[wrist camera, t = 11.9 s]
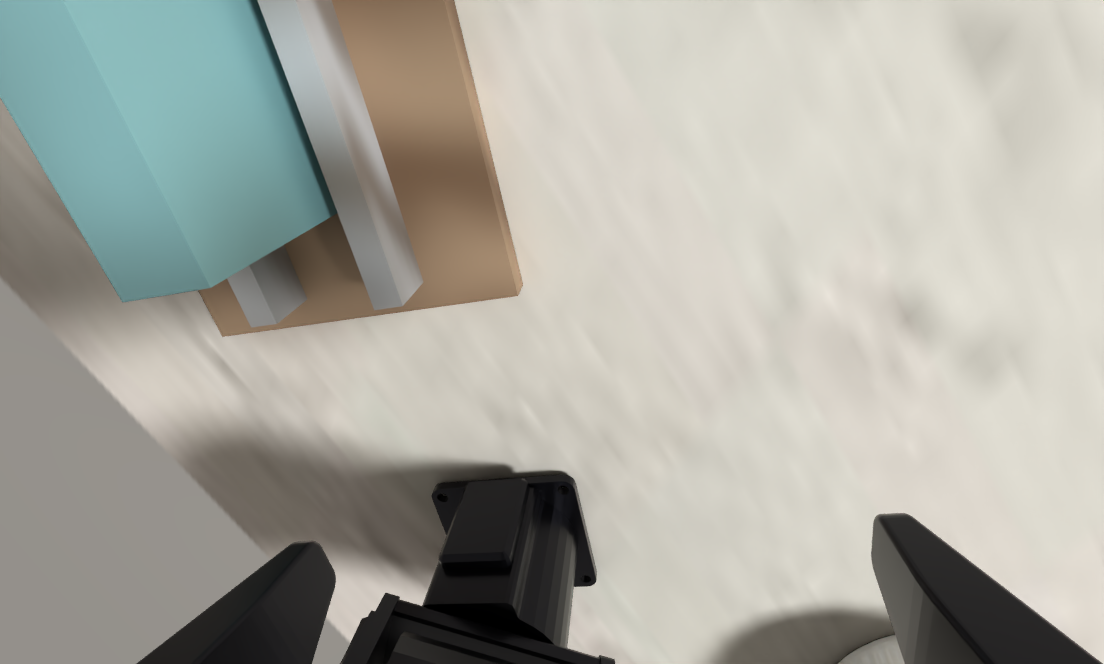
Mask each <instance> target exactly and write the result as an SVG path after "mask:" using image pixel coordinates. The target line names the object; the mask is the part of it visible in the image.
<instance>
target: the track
mask: <svg viewBox="0 0 1104 664" xmlns="http://www.w3.org/2000/svg"><path fill="white" fill-rule="evenodd" d="M257 1H258V3H259V6H260V9H261V11H262V14H263V17H264V19H265V22H266V25H267V27H268V30H269V33H270V35H271V38H272V40H273V43H274V46H275V48H276V51H277V54H278V56H279V59H280V62H281V64H282V67H283V70H284V72H285V75H286V78H287V80H288V83H289V86H290V88H291V91H292V93H293V96H294V99H295V101H296V104H297V107H298V109H299V112H300V115H301V117H302V120H303V123H304V125H305V128H306V131H307V133H308V136H309V138H310V141H311V144H312V146H313V149H314V152H315V154H316V157H317V160H318V162H319V165H320V168H321V170H322V173H323V176H324V178H325V181H326V183H327V186H328V189H329V191H330V194H331V197H332V199H333V202H334V205H335V207H336V210H337V214H335V215H333V216H332V217H330V218H328V219H327V220H325V221H323V222H321V223H320V224H318V225H316V226H315V227H313V228H311V229H310V230H308V231H306V232H305V233H303V234H301V235H299V236H298V237H296V238H294V239H293V240H291V241H289V242H288V243H286V244H284V245H283V246H281V247H279V248H277V249H276V250H274V251H272V252H271V253H269V254H267V255H266V256H264V257H262V258H260V259H259V260H257V261H255V262H254V263H252V264H250V265H249V266H247V267H245V268H244V269H242V270H240V271H238V272H237V273H235V274H233V275H232V276H230V277H228V278H227V279H225V280H223V281H222V282H220V283H218V284H216V285H215V286H213V287H211V288H207V289H201V290H198V291H199V293H200V295H201V297H202V298H203V300H204V302H205V304H206V306H207V308H208V310H209V312H210V314H211V316H212V318H213V319H214V321H215V323H216V325H217V327H218V329H219V331H220V333H221V335H222V337H224V336H231V335H239V334H246V333H253V332H260V331H268V330H275V329H282V328H289V327H296V326H304V325H311V324H318V323H325V322H333V321H340V320H347V319H354V318H361V317H369V316H376V315H383V314H390V313H398V312H405V311H412V310H419V309H426V308H434V307H441V306H448V305H455V304H463V303H470V302H477V301H484V300H491V299H499V298H506V297H513V296H518V295H519V292H520V290H521V288H522V286H523V283H522V278H521V274H520V270H519V266H518V262H517V258H516V254H515V250H514V245H513V241H512V237H511V233H510V229H509V225H508V221H507V217H506V213H505V208H504V204H503V200H502V196H501V192H500V188H499V184H498V180H497V175H496V171H495V167H494V163H493V159H492V155H491V151H490V147H489V142H488V138H487V134H486V130H485V126H484V122H483V118H482V114H481V110H480V105H479V101H478V97H477V93H476V89H475V85H474V81H473V77H472V72H471V68H470V64H469V60H468V56H467V52H466V48H465V44H464V39H463V35H462V31H461V27H460V23H459V19H458V15H457V11H456V6H455V2H454V0H257Z"/></svg>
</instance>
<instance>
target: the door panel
mask: <svg viewBox="0 0 1104 664" xmlns="http://www.w3.org/2000/svg"><path fill="white" fill-rule="evenodd" d="M0 98H1V99H2V101H3V103H4V104H5V106H6V108H7V110H8V111H9V113H10V115H11V116H12V118H13V120H14V121H15V123H16V125H17V126H18V128H19V130H20V131H21V133H22V135H23V136H24V138H25V140H26V141H27V143H28V145H29V146H30V148H31V150H32V151H33V153H34V155H35V156H36V158H37V160H38V161H39V163H40V165H41V167H42V168H43V170H44V172H45V173H46V175H47V177H48V178H49V180H50V182H51V183H52V185H53V187H54V188H55V190H56V192H57V193H58V195H59V197H60V198H61V200H62V202H63V203H64V205H65V207H66V208H67V210H68V212H69V213H70V215H71V217H72V218H73V220H74V222H75V223H76V225H77V227H78V229H79V230H80V232H81V234H82V235H83V237H84V239H85V240H86V242H87V244H88V245H89V247H90V249H91V250H92V252H93V254H94V255H95V257H96V259H97V260H98V262H99V264H100V265H101V267H102V269H103V270H104V272H105V274H106V275H107V277H108V279H109V280H110V282H111V284H112V286H113V287H114V289H115V291H116V292H117V294H118V296H119V297H120V299H121V301H122V302H128V301H134V300H140V299H147V298H153V297H159V296H165V295H171V294H177V293H183V292H189V291H195V290H201V289H207V288H211V287H213V286H215V285H216V284H218V283H220V282H222V281H223V280H225V279H227V278H228V277H230V276H232V275H233V274H235V273H237V272H238V271H240V270H242V269H244V268H245V267H247V266H249V265H250V264H252V263H254V262H255V261H257V260H259V259H260V258H262V257H264V256H266V255H267V254H269V253H271V252H272V251H274V250H276V249H277V248H279V247H281V246H283V245H284V244H286V243H288V242H289V241H291V240H293V239H294V238H296V237H298V236H299V235H301V234H303V233H305V232H306V231H308V230H310V229H311V228H313V227H315V226H316V225H318V224H320V223H321V222H323V221H325V220H327V219H328V218H330V217H332V216H333V215H335V214H337V210H336V207H335V205H334V202H333V199H332V197H331V194H330V191H329V189H328V186H327V183H326V181H325V178H324V176H323V173H322V170H321V168H320V165H319V162H318V160H317V157H316V154H315V152H314V149H313V146H312V144H311V141H310V138H309V136H308V133H307V131H306V128H305V125H304V123H303V120H302V117H301V115H300V112H299V109H298V107H297V104H296V101H295V99H294V96H293V93H292V91H291V88H290V86H289V83H288V80H287V78H286V75H285V72H284V70H283V67H282V64H281V62H280V59H279V56H278V54H277V51H276V48H275V46H274V43H273V40H272V38H271V35H270V33H269V30H268V27H267V25H266V22H265V19H264V17H263V14H262V11H261V9H260V6H259V3H258V1H257V0H0Z"/></svg>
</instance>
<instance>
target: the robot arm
mask: <svg viewBox="0 0 1104 664" xmlns="http://www.w3.org/2000/svg"><path fill="white" fill-rule="evenodd" d="M560 486H566V487H568V488H562V487H560ZM441 493H442V494H441ZM443 494H445V495H447V496H445V495H443ZM432 499H433V502H434V504H435V507H436V509H437V512H438V514H439V517H440V520H441V522H442V525H443V527H444V530H445V532H446V535H447V536H446V539H445V542H444V544H443V547H442V550H441V552H440V555H439V562H438V565H437V567H436V570H435V573H434V576H433V578H432V581H431V584H430V586H429V589H428V592H427V594H426V597H425V600H424V602H423V605H422V606H420V605H417V604H413V603H410V602H406V601H403V600H399V599H400V597H399V596H395V595H392V594H389V593H385V595H384V596H383V598H382V600H381V602H380V604H379V606H378V608H377V609H376V611H371V612H370V614H369V616H368V617H366V618H362V620H361V622H360V624H359V626H358V628H357V630H356V633H355V635H354V637H353V639H352V641H351V643H350V645H349V647H348V650H347V651H346V654H345V655H344V657H343V659H342V661H341V663H340V664H615V660H614V659H612V658H608V657H605V656H601V655H600V656H599V657H595V656H592V655H588V654H585V653H581V652H578V651H574V650H571V649H568V648H567V644H568V635H569V625H570V616H571V607H572V598H573V589H574V587H580V586H592V585H593V584H595V582H596V576H597V570H596V566H595V562H594V558H593V554H592V549H591V545H590V541H589V537H588V533H587V528H586V524H585V520H584V516H583V512H582V507H581V503H580V499H579V495H578V491H577V486H576V483H575V481H574V479H573V478H572V477H570V476H568V475H551V476H536V477H522V478H507V479H493V480H478V481H464V482H449V483H440V484H438V485H436V487H435V489H434V491H433V493H432ZM871 558H872V565H873V569H874V572H875V576H876V579H877V582H878V585H879V588H880V591H881V594H882V597H883V600H884V603H885V606H886V609H887V612H888V615H889V618H890V621H891V624H892V627H893V630H894V633H895V636H896V639H897V642H898V645H899V648H900V651H901V654H902V657H903V660H904V663H905V664H1102V663H1101V662H1100V661H1099V660H1097V659H1096V658H1095V657H1093V656H1092V655H1091V654H1090V653H1088V652H1087V651H1086V650H1084V649H1083V648H1082V647H1080V646H1079V645H1078V644H1077V643H1075V642H1074V641H1073V640H1071V639H1070V638H1069V637H1067V636H1066V635H1065V634H1064V633H1062V632H1061V631H1060V630H1058V629H1057V628H1056V627H1055V626H1053V625H1052V624H1051V623H1049V622H1048V621H1047V620H1045V619H1044V618H1043V617H1042V616H1040V615H1039V614H1038V613H1036V612H1035V611H1034V610H1033V609H1031V608H1030V607H1029V606H1027V605H1026V604H1025V603H1023V602H1022V601H1021V600H1020V599H1018V598H1017V597H1016V596H1014V595H1013V594H1012V593H1010V592H1009V591H1008V590H1007V589H1005V588H1004V587H1003V586H1001V585H1000V584H999V583H998V582H996V581H995V580H994V579H992V578H991V577H990V576H988V575H987V574H986V573H985V572H983V571H982V570H981V569H979V568H978V567H977V566H975V565H974V564H973V563H972V562H970V561H969V560H968V559H966V558H965V557H964V556H963V555H961V554H960V553H959V552H957V551H956V550H955V549H953V548H952V547H951V546H950V545H948V544H947V543H946V542H944V541H943V540H942V539H941V538H939V537H938V536H937V535H935V534H934V533H933V532H931V531H930V530H929V529H928V528H926V527H925V526H924V525H922V524H921V523H920V522H918V521H917V520H916V519H915V518H913V517H912V516H910V515H908V514H905V513H894V514H879V515H877V516H876V517H875V519H874V523H873V537H872V551H871ZM335 582H336V576H335V572H334V570H333V568H332V566H331V564H330V562H329V560H328V558H327V556H326V555H325V553H324V551H323V549H322V547H321V546H320V544H319V543H317V542H316V541H302V542H295V543H292V544H290V545H289V546H288V547H286V548H285V549H284V550H283V551H281V552H280V553H279V554H277V555H276V556H275V557H274V558H272V559H271V560H270V561H268V562H267V563H266V564H264V566H262V567H261V568H259V569H258V570H257V571H255V572H254V573H253V574H252V575H250V576H249V577H248V578H246V579H245V580H244V581H243V582H241V583H240V584H239V585H238V586H236V587H235V588H234V589H232V590H231V591H230V592H228V593H227V594H226V595H224V596H223V597H222V598H221V599H219V600H218V601H217V602H215V603H214V604H213V605H212V606H210V607H209V608H208V609H206V610H205V611H204V612H203V613H201V614H200V615H199V616H197V617H196V618H195V619H194V620H192V621H191V622H190V623H188V624H187V625H186V626H185V627H183V628H182V629H181V630H179V631H178V632H177V633H176V634H174V635H173V636H172V637H170V638H169V639H168V640H166V641H165V642H164V643H163V644H161V645H160V646H159V647H158V648H156V649H155V650H153V651H152V652H151V653H150V654H148V655H147V656H146V657H145V658H143V659H142V660H141V661H139V662H138V663H137V664H312V661H313V657H314V654H315V651H316V648H317V644H318V641H319V638H320V634H321V631H322V628H323V625H324V621H325V618H326V615H327V611H328V608H329V605H330V601H331V598H332V595H333V592H334V588H335Z"/></svg>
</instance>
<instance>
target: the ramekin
mask: <svg viewBox="0 0 1104 664" xmlns="http://www.w3.org/2000/svg"><path fill="white" fill-rule="evenodd" d="M838 664H905V663H904V660H903V657H902V654H901V651H900V648H899V645H898V642H897V639H896V636H895V635H892V636H887V637H884V638H881V639H878V640H875V641H873V642H871V643H868V644H866V645H864V646H862V647H860V648H858V649H857V650H855V651H853V652H852V653H850V654H849V655H847V656H846V657H845V658H843V659H842V660H841V661H840V662H839V663H838Z"/></svg>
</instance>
